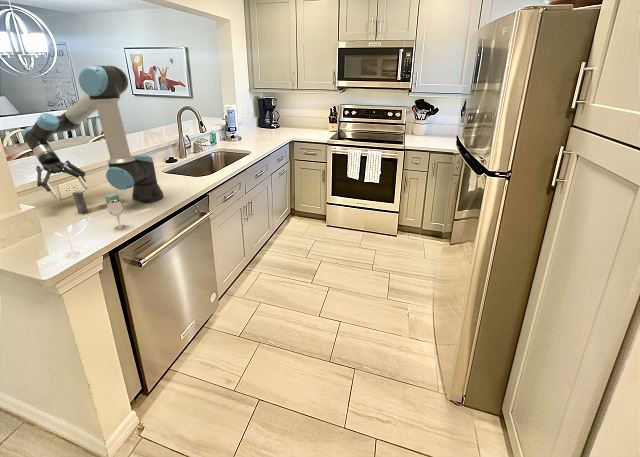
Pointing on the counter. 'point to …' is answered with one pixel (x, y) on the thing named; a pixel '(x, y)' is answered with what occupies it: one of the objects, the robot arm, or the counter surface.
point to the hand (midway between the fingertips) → (71, 192)
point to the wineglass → (116, 210)
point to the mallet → (82, 205)
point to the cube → (111, 197)
